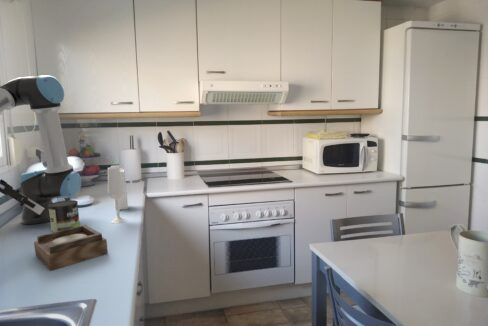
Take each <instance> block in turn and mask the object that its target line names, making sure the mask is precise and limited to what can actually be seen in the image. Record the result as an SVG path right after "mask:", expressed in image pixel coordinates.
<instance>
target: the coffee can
mask: <svg viewBox="0 0 488 326" xmlns="http://www.w3.org/2000/svg"><path fill="white" fill-rule="evenodd" d="M48 208H49V215H50V221H49V222H50V227H51V233H52V232H56V231H60V230H64V229H69V228H73V227H77V226H81V223H80V222H81V221H80V215H79V214H80V213H79V206H78V201H77V200H75V199H68V200H60V201H56V202H55V201H54V202H53V203H51V204H49V205H48Z"/></svg>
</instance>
